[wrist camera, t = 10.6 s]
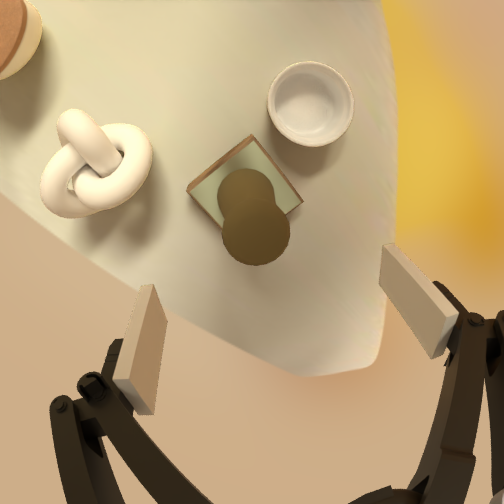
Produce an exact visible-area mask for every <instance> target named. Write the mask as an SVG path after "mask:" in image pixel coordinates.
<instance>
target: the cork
mask: <svg viewBox="0 0 504 504" xmlns="http://www.w3.org/2000/svg"><path fill="white" fill-rule="evenodd" d="M217 201H218V206H219V208H220V210H221V213H222V215H223V217H224V219H225V220H224V221H223V228H222V237H223V243H224V245H225V247H226V249H227V250H228V252H229V254H230V255H231V256H232V257H234V258H235V259H236V260H237V261H239V262H241V263H244V264H246V265H254V266H258V265H264V264H267V263H270V262H272V261H274V260H275V259H277V258H278V257H279V256H280V255H281V254H282V253H283V252H284V250H285V249H286V247H287V246H288V242H289V238H290V226H289V222H288V220H287V218H286V215H285V214H284V212H283V211H282V210H281V209H280V208H279V207H278V206H277V205H276V201H275V194H274V188H273V186H272V183H271V181H270V180H269V179H268V178H267V177H266V176H265V175H264V174H263V173H261V172H259V171H257V170H255V169H248V168H245V169H238V170H236V171H234V172H232V173H229V174H228V175H227V176H226V177H225V178H224V179H223V180H222V182H221V184H220V186H219V187H218V192H217Z"/></svg>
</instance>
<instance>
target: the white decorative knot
mask: <svg viewBox="0 0 504 504" xmlns="http://www.w3.org/2000/svg"><path fill="white" fill-rule="evenodd" d="M57 132H58V136H59V140H60V143H61V146H62V148H61V149H60V150H59V151H58V152H57V153H56V154H55V155H54V156H53V157H52V159H51V160H50V161H49V163H48V165H47V166H46V168H45V169H44V172H43V174H42V177H41V181H40V194H41V199H42V201H43V203H44V205H45V206H46V207H47V208H48V209H49V210H50V211H51V212H52V213H54V214H56V215H58V216H60V217H64V218H81V217H85V216H88V215H92V214H94V213H97V212H99V211H101V210H107V209H111V208H114V207H116V206H118V205H120V204H122V203H124V202H125V201H127V200H128V199H129V198H131V197H132V196H133V195H134V194H135V193H136V192H137V191H138V190H139V188H140V187H141V186H142V185H143V183H144V181H145V180H146V178H147V176H148V174H149V171H150V168H151V163H152V156H153V150H152V145H151V143H150V140H149V138H148V137H147V135H146V134H145V133H144V131H142V130H141V129H140V128H138V127H136V126H133V125H129V124H122V123H117V124H109V125H105V126H101V127H99V125H98V124H97V123H96V122H95V121H94V120H93V119H92V118H91V117H90V116H89V115H88V114H87V113H86V112H84V111H82V110H78V109H74V108H73V109H70V110H67V111H65V112H64V113H63V114H62V115H61V116H60V117H59V119H58V122H57ZM117 150H121V151H123V152H124V158H122V156H121V155H120V153H119V152H118V151H117ZM98 174H99V175H100V177H101V178H100V177H99V175H98ZM71 177H72V184H73V188H74V190H69V189H68V188H67V185H68V182H69V180H70V179H71Z"/></svg>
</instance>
